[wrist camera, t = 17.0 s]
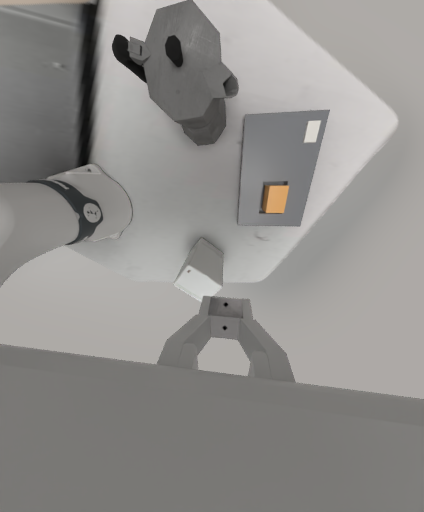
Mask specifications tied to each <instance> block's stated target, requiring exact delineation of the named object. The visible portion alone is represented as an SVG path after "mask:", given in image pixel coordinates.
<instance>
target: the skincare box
mask: <svg viewBox="0 0 424 512" xmlns="http://www.w3.org/2000/svg"><path fill="white" fill-rule="evenodd" d="M223 255H224V253H222V252H221V251H220V250H218V249H217V248H216V247H214V246H213V245H211V244H210V243H209V242H207V241H206V240H204V239H203V238H200V239H199V241H198V242H197V243H196V245H195V246H194V247H193V249H192V250H191V251H190V253H189V255H188V257H187V259H186V260H185V262H184V264H183V266H182V268H181V270H180V272H179V274H178V276H177V278H176V280H175V282H174V284H173V285H174V286H175V287H177V288H179V289H181V290H182V291H184V292H185V293H187V294H188V295H190V296H192V297H193V298H195V299H197V300H198V301H200V302H201V303H202V299H203V296H214V295H215V294H216V293H217V292H218V291H219V290H220V289H221V288H222V286H223V285H222V284H223Z"/></svg>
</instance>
